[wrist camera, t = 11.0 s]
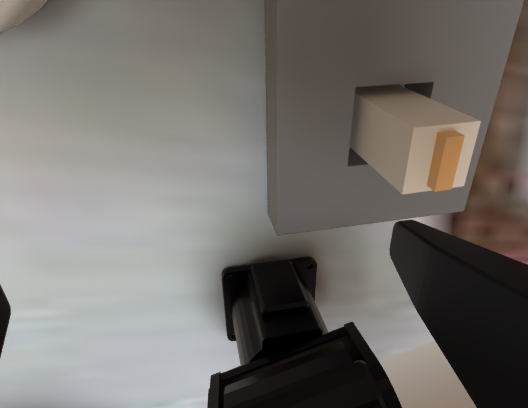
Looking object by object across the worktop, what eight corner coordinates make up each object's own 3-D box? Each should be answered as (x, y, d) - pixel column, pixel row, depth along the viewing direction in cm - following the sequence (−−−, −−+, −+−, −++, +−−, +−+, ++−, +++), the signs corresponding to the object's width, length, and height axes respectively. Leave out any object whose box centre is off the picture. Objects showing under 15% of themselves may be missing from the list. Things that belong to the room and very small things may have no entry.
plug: (388, 134, 23) (472, 192, 17) (341, 139, 23) (409, 201, 16) (395, 83, 22) (491, 125, 15) (345, 87, 21) (421, 132, 15)
